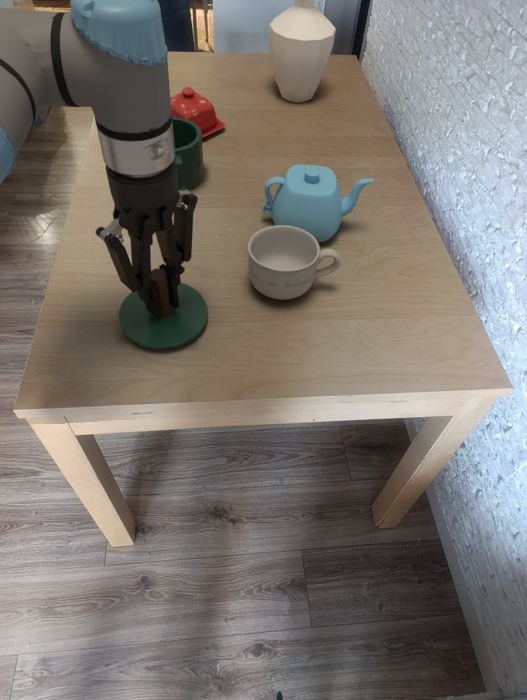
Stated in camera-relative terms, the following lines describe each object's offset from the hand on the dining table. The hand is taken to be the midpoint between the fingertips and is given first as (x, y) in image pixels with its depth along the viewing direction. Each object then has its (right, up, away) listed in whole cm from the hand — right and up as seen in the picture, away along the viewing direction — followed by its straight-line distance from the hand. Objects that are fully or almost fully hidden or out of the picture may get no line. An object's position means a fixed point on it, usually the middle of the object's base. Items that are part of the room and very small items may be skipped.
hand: (162, 307), depth 72 cm
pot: (-3, +27, +24) cm, 37 cm away
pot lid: (0, -1, +1) cm, 2 cm away
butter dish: (-1, +41, +35) cm, 53 cm away
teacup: (+19, +4, +8) cm, 21 cm away
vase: (+22, +55, +47) cm, 75 cm away
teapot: (+23, +16, +17) cm, 33 cm away
